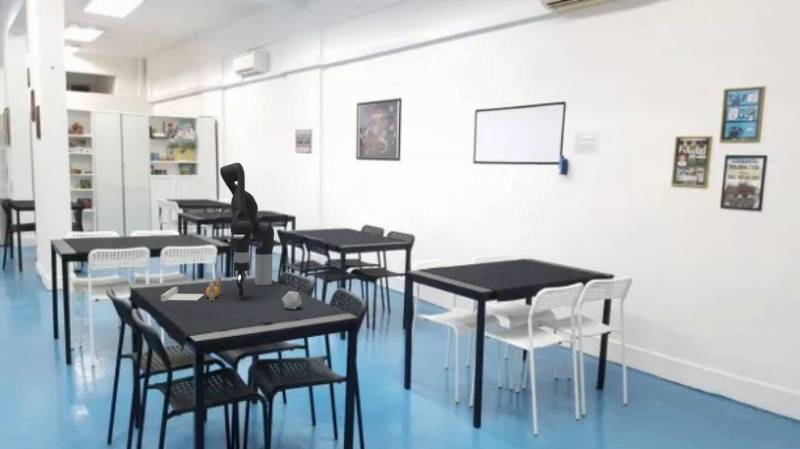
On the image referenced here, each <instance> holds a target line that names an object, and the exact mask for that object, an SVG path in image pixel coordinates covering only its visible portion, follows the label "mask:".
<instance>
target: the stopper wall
mask: <svg viewBox="0 0 800 449" xmlns="http://www.w3.org/2000/svg"><path fill="white" fill-rule="evenodd" d="M175 294H179V287H178V286H173V287H171V288H170V289H169V290H167V291H165V292H164V293H162V294H161V295H160V302H167V301H169V300H168V299H169V298H171V297H172V296H173V295H175Z"/></svg>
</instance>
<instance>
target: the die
mask: <svg viewBox="0 0 800 449" xmlns="http://www.w3.org/2000/svg"><path fill="white" fill-rule="evenodd" d="M281 301H282V303H283V305H284V308H285V309H286V308H287V310H293V309H294V310H293V311H295V310H296V309H297V308H298V307H299V306H301V305H302V303H303V300H302V298H301V295H300V292H299V291H292V290H289V291H288V292H287V293H286V294H284V296H283V297H281Z"/></svg>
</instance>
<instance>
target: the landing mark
mask: <svg viewBox="0 0 800 449" xmlns="http://www.w3.org/2000/svg"><path fill="white" fill-rule="evenodd" d="M203 296H205V294H204V293H177V294H175V295H173V296H172V297H171V298H169V299H168V300H167V301H198V300H199V299H201V298H202V297H203Z"/></svg>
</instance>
